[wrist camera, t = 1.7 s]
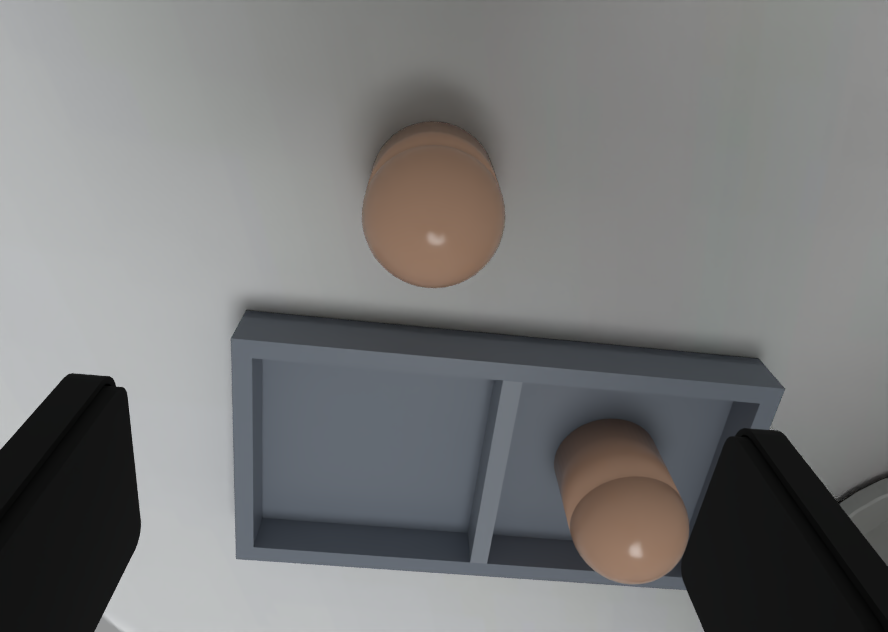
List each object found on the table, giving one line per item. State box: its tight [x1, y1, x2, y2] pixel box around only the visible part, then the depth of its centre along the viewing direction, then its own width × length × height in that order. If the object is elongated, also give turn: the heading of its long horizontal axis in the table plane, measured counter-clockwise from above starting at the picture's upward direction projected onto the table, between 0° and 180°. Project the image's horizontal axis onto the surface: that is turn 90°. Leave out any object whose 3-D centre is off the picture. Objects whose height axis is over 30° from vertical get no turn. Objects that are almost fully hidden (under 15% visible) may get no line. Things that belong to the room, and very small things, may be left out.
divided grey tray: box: [231, 310, 785, 590], centre depth 31 cm, size 22×12×2 cm, turn 83°
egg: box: [362, 121, 505, 288], centre depth 24 cm, size 5×5×6 cm
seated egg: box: [554, 419, 689, 585], centre depth 29 cm, size 5×5×6 cm
